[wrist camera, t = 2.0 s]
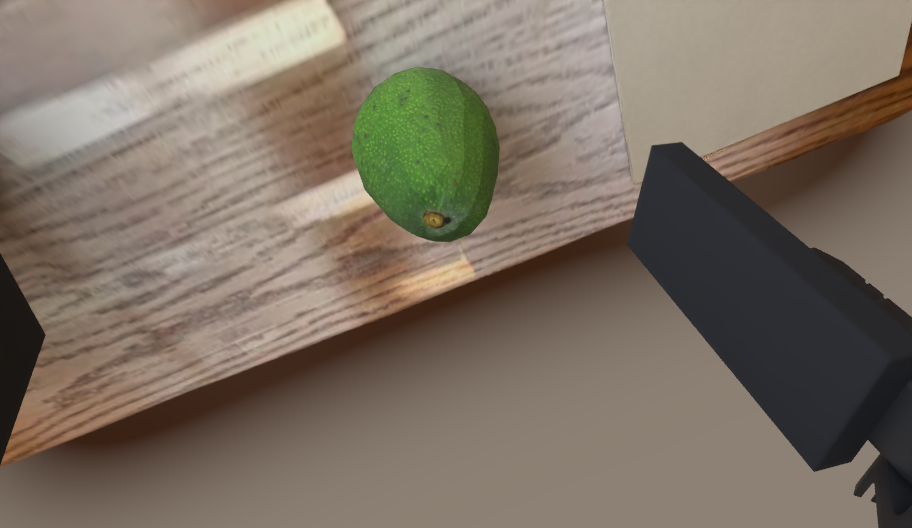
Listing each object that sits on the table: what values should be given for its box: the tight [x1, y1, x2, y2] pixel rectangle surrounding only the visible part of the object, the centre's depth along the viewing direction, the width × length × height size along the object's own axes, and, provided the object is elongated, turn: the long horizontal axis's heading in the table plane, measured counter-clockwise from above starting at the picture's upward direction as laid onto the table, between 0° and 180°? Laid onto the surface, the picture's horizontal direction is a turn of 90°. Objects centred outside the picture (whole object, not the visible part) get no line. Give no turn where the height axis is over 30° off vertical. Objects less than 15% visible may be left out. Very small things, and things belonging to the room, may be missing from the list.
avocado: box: [352, 68, 500, 242], centre depth 33 cm, size 8×8×12 cm
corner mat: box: [602, 0, 912, 185], centre depth 37 cm, size 20×20×1 cm
